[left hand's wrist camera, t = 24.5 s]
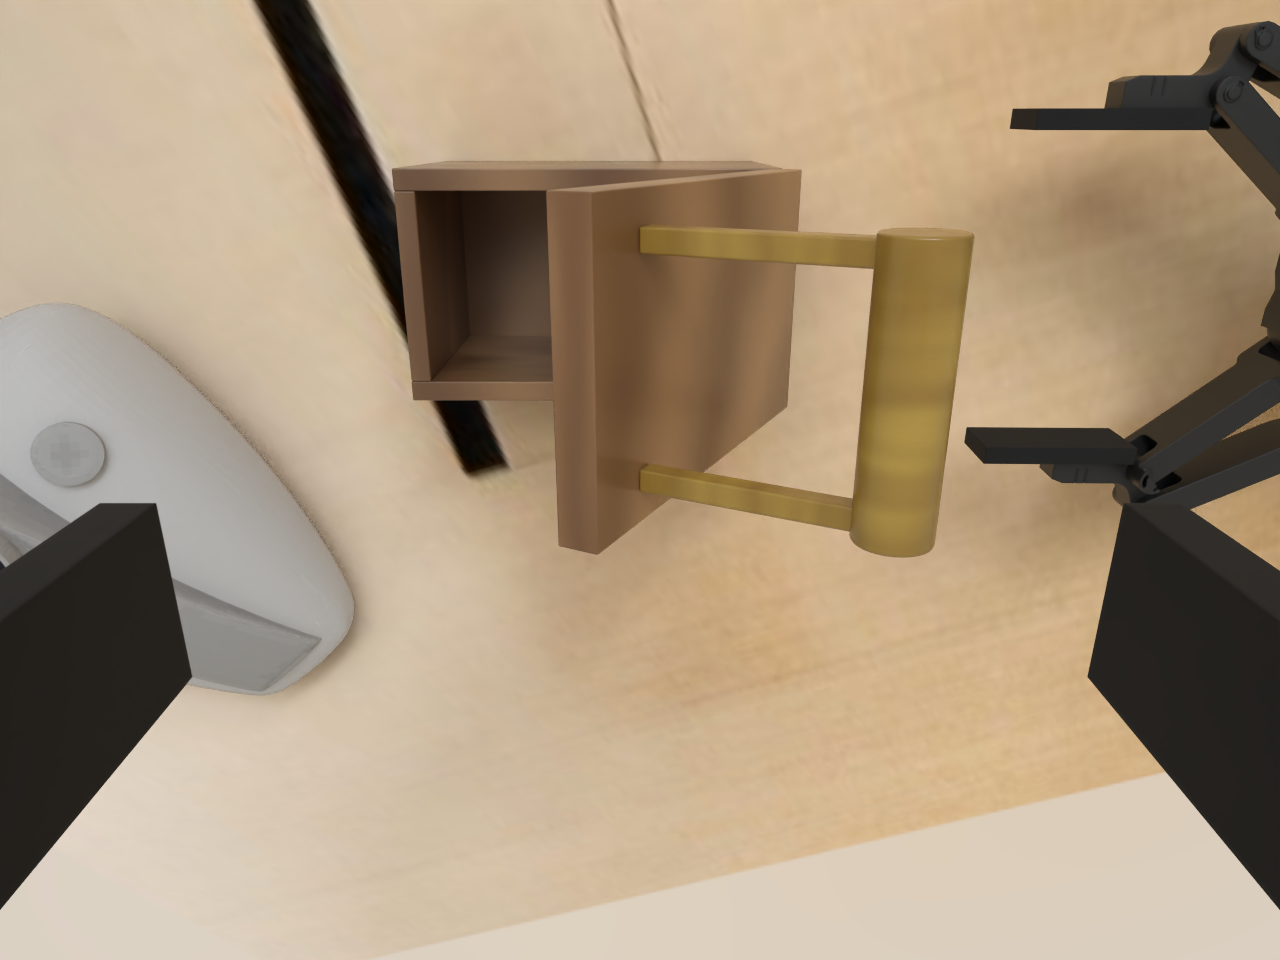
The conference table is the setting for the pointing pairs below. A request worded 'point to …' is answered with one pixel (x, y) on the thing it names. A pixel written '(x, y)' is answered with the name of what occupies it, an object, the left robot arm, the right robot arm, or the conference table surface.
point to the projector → (164, 494)
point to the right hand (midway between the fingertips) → (996, 293)
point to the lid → (737, 355)
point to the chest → (493, 267)
